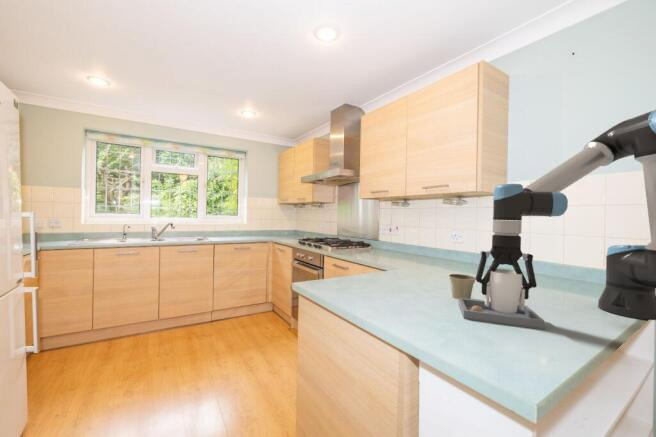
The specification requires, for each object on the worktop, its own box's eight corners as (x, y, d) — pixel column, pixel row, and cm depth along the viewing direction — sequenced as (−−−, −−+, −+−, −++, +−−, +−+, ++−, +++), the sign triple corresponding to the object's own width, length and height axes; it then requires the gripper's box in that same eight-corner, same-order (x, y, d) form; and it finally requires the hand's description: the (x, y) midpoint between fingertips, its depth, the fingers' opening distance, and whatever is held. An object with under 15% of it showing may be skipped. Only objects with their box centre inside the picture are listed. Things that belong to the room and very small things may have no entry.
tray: (526, 315, 90) (526, 305, 90) (543, 331, 77) (544, 320, 77) (458, 306, 97) (458, 297, 97) (463, 320, 84) (463, 310, 84)
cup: (511, 306, 91) (512, 269, 91) (528, 316, 82) (529, 275, 82) (481, 304, 92) (483, 268, 92) (495, 314, 83) (497, 273, 83)
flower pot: (480, 303, 102) (481, 279, 101) (454, 302, 102) (455, 278, 102) (467, 296, 111) (468, 274, 111) (443, 295, 111) (444, 273, 111)
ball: (482, 316, 86) (482, 304, 86) (484, 320, 83) (484, 308, 83) (469, 314, 88) (470, 303, 88) (471, 318, 84) (471, 306, 84)
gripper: (543, 235, 87) (540, 308, 87) (466, 232, 94) (464, 299, 94) (553, 236, 80) (550, 316, 80) (469, 233, 87) (467, 306, 87)
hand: (503, 307), depth 87 cm, fingers closed on cup, 9 cm apart
